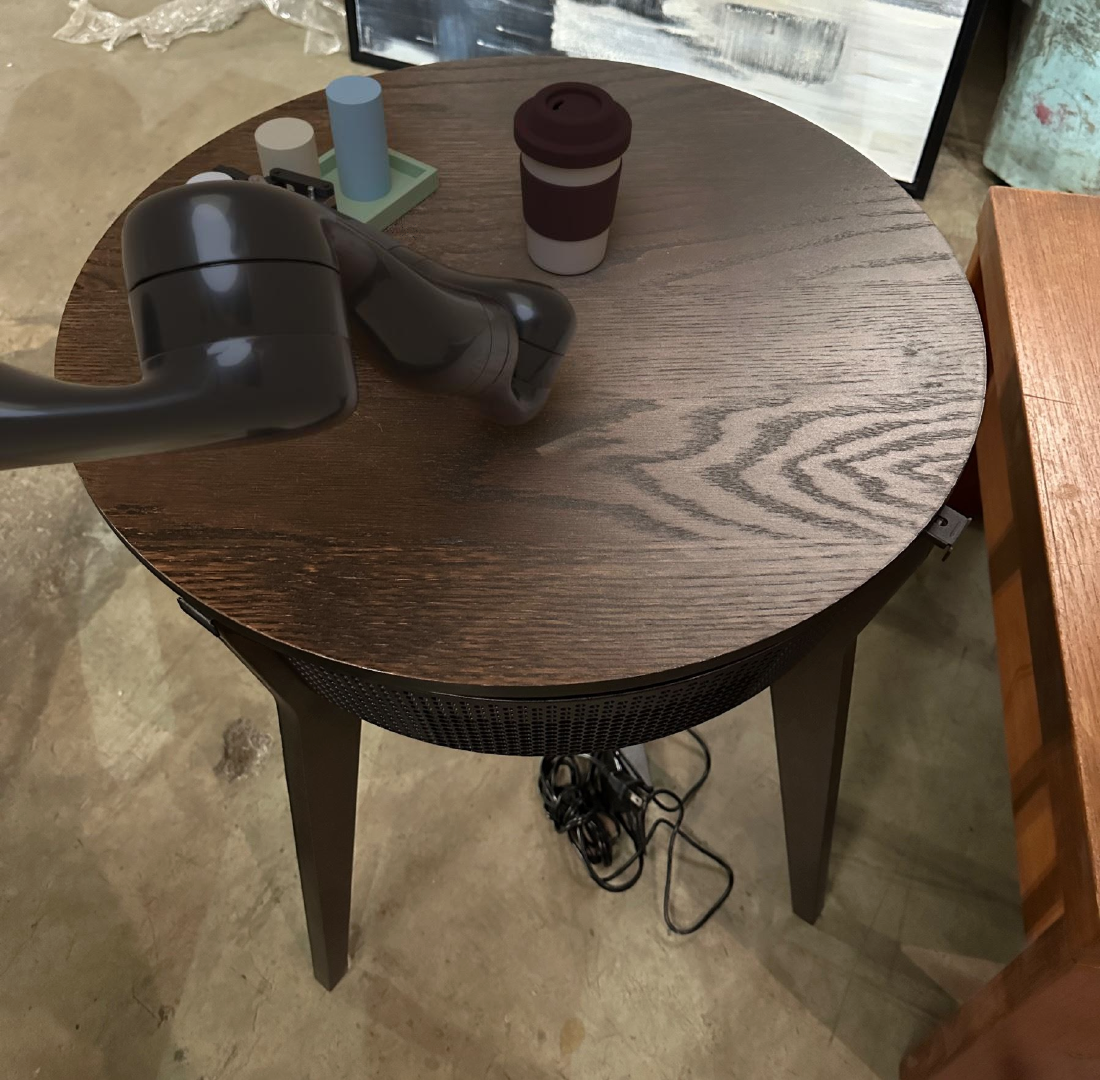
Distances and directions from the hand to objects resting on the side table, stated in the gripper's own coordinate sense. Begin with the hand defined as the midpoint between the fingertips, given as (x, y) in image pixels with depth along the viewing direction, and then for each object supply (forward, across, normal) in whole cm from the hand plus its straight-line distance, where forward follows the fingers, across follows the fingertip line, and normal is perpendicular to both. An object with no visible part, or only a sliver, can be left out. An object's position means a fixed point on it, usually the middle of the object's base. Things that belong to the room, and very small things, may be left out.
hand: (191, 192), depth 86 cm
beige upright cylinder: (-2, -9, +8) cm, 12 cm away
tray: (-2, -9, +9) cm, 13 cm away
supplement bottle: (-3, 0, +8) cm, 9 cm away
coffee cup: (-24, -22, +9) cm, 33 cm away
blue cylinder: (-2, -18, +8) cm, 20 cm away
